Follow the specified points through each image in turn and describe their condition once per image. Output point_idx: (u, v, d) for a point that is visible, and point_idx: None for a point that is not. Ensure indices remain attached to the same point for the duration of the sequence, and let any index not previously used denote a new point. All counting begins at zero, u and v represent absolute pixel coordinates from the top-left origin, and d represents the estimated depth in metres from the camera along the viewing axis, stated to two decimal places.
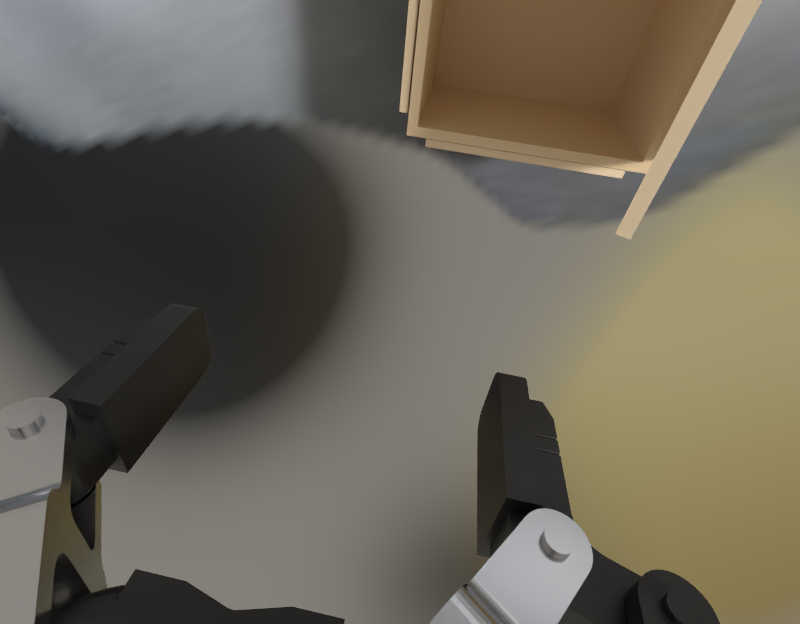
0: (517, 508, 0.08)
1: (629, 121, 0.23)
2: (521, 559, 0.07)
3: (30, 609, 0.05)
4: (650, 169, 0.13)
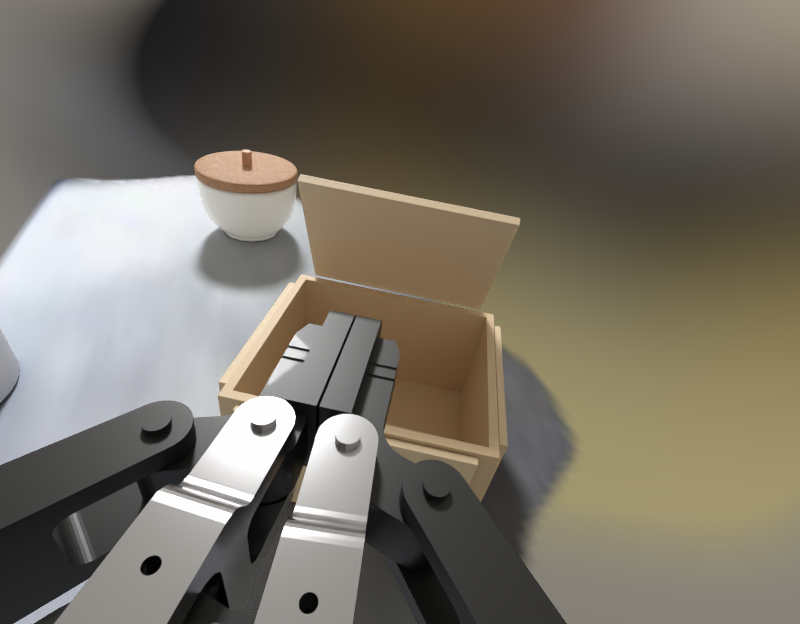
0: (331, 417, 0.09)
1: (464, 358, 0.32)
2: (326, 467, 0.08)
3: None
4: (476, 215, 0.22)
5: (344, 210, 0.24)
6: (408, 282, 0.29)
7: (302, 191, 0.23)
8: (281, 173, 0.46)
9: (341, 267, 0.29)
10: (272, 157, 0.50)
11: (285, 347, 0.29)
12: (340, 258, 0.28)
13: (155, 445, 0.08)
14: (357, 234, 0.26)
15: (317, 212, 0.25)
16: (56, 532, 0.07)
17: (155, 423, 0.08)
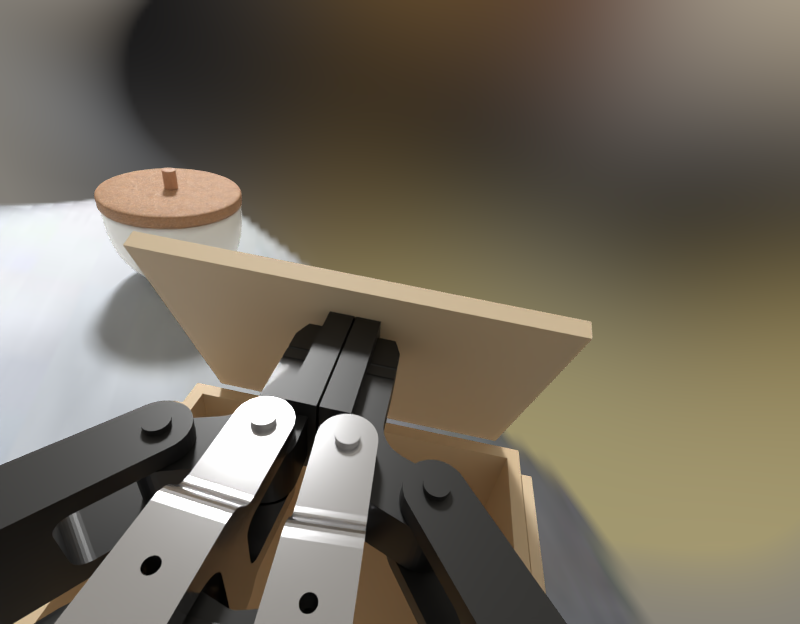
0: (331, 417, 0.09)
1: None
2: (326, 467, 0.08)
3: None
4: (499, 318, 0.10)
5: (233, 299, 0.12)
6: None
7: (141, 264, 0.11)
8: (216, 199, 0.34)
9: (258, 378, 0.17)
10: (210, 176, 0.38)
11: None
12: (252, 365, 0.16)
13: (155, 445, 0.08)
14: (269, 335, 0.14)
15: (185, 300, 0.13)
16: (56, 532, 0.07)
17: (155, 423, 0.08)
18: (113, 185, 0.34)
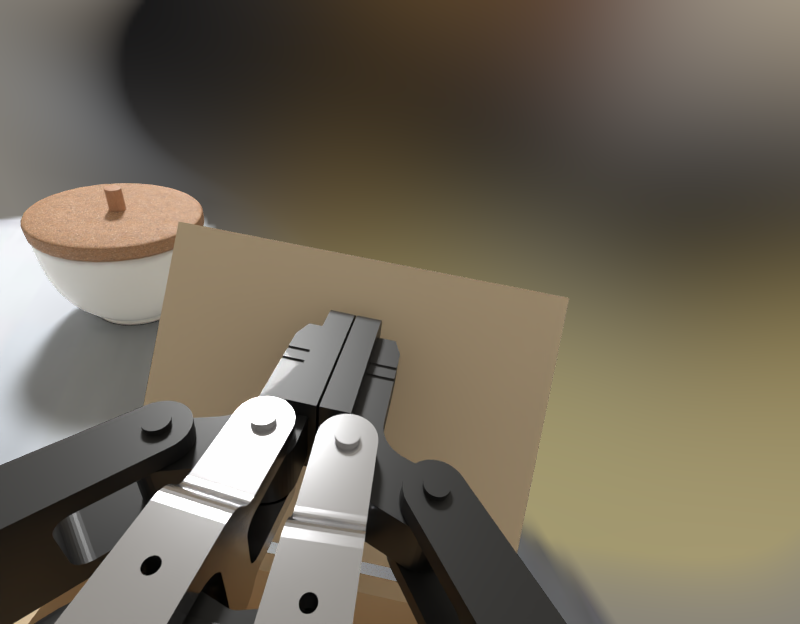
0: (331, 417, 0.09)
1: None
2: (326, 467, 0.08)
3: None
4: None
5: (247, 288, 0.13)
6: None
7: (179, 246, 0.13)
8: (170, 223, 0.29)
9: None
10: (168, 193, 0.33)
11: None
12: None
13: (155, 445, 0.08)
14: (259, 352, 0.13)
15: (191, 298, 0.13)
16: (56, 532, 0.07)
17: (155, 423, 0.08)
18: (46, 207, 0.28)
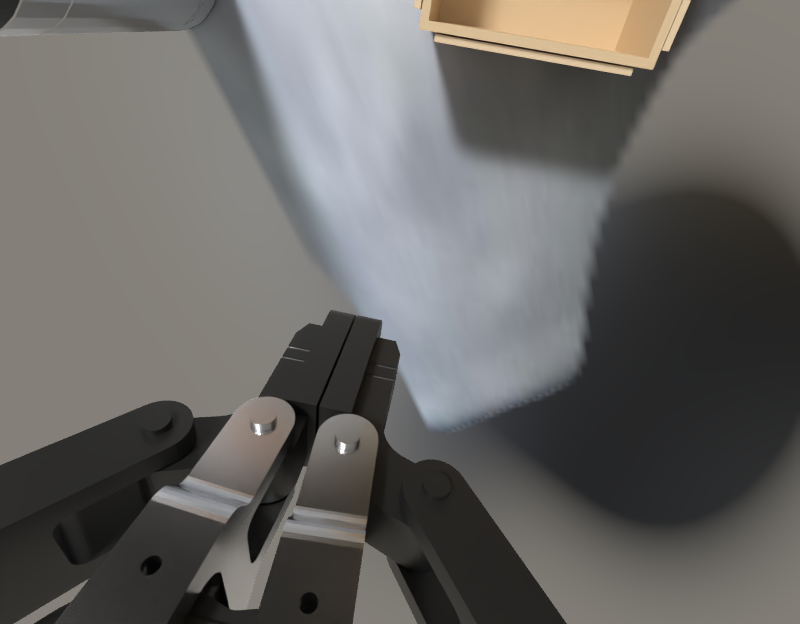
0: (331, 417, 0.09)
1: None
2: (327, 467, 0.08)
3: None
4: None
5: None
6: None
7: None
8: None
9: None
10: None
11: None
12: None
13: (155, 445, 0.08)
14: None
15: None
16: (56, 532, 0.07)
17: (155, 422, 0.08)
18: None
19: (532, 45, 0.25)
